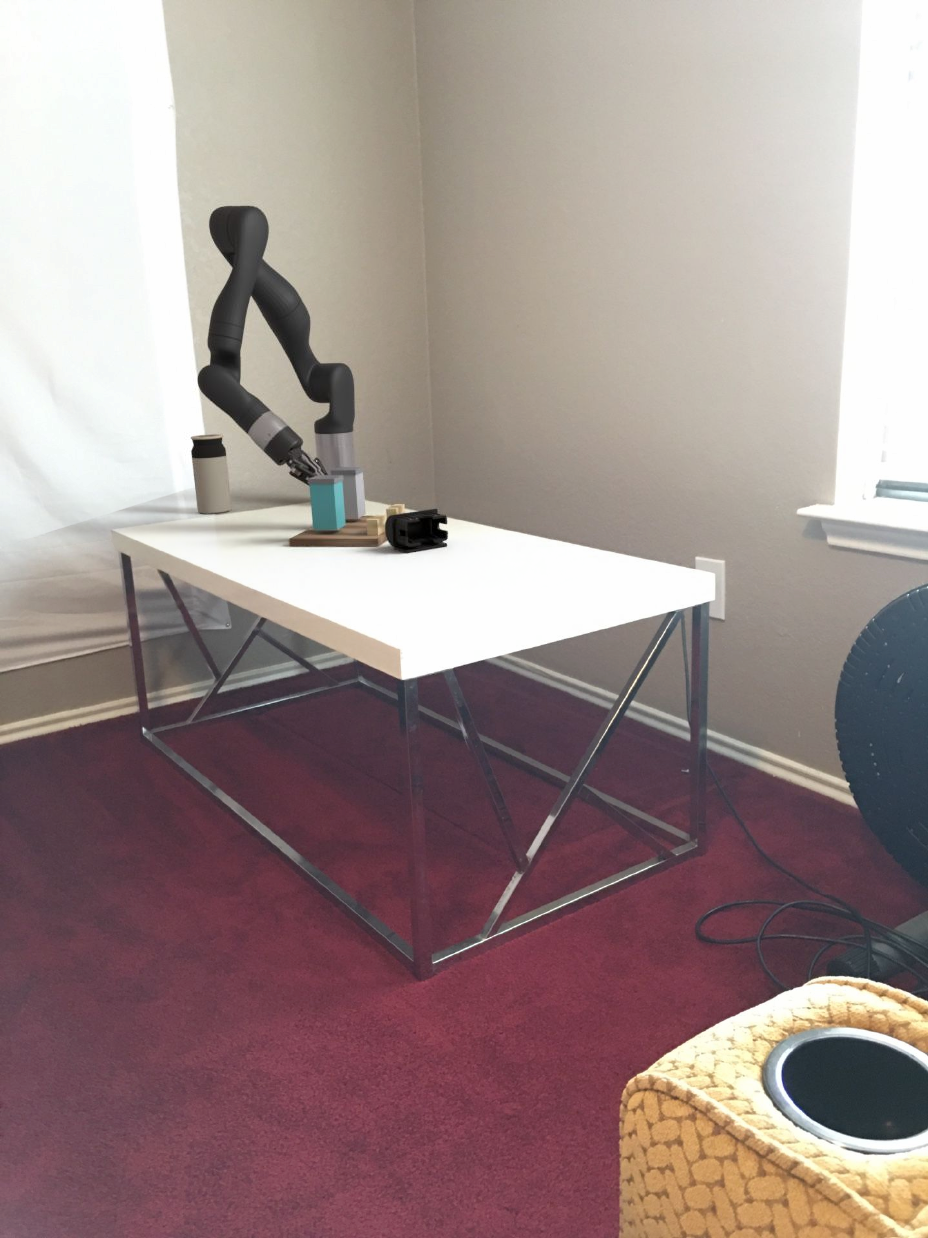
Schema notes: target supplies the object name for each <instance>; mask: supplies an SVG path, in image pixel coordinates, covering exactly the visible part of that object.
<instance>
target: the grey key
mask: <svg viewBox="0 0 928 1238" xmlns="http://www.w3.org/2000/svg"><path fill="white" fill-rule="evenodd" d="M364 472H365V469H364V466H356V467H338V468H336V469H333V470H331V475H343V479H344V480H343V481H342V483H343V497H344V510H345V518H360V517H362V516H366V515H367V511H366V510H367V509H366V498H365V482H364Z"/></svg>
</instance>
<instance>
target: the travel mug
mask: <svg viewBox="0 0 928 1238" xmlns="http://www.w3.org/2000/svg"><path fill="white" fill-rule="evenodd" d="M223 438H224V435H223V434H220V433H219V434H217V433H213V434H202V435H201V434H200V435H192V436H190V439H191V441H192V444H193V445H192V449H191V450H190V453H191V461H192V462H191V463H192V469H193V470H192V471H193V480H194V489H195V498H196V508H197V512H198V513H200V514H203V515H216V514H217V515H218V514H224V513H225V514H226V513H228V512H230V511H231V510H232V507H233V506H232V497H231V489H230V479H229V470H228V457H227V449H226V447H225V446H224V444H223Z"/></svg>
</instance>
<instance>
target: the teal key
mask: <svg viewBox="0 0 928 1238" xmlns="http://www.w3.org/2000/svg"><path fill="white" fill-rule="evenodd" d="M343 480H344V479H343V475H317V476H315V477H312V478H309V479H308V484H309V495H310V508H311V518H312V519H311V521H312V527H313V530H338V529H340V528H341V527H343V526H345V525H346V524H345V510H344V497H343V483H342V481H343Z"/></svg>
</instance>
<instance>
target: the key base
mask: <svg viewBox="0 0 928 1238" xmlns="http://www.w3.org/2000/svg"><path fill="white" fill-rule="evenodd" d="M405 507H406V506H405V503H397V504H396V503H394V504H392V505H390V506H389V507H387V508H385V514H375V515H363V516H362V517H360V518H345V524H346V525H345V526H343V527H341V528H340V529H338V530H313V526H312V527H309V528H308V529H306V530H303V531H301V532H300V533H298V534H296V535H294V536H292V537H290V538H289V539H288V541H289V547H376V548H377V547H380V546H381V545H383V544H384V543H385V542H388V540H387V537H386V533H385V523H386V520H387V518H388V517H389V516H390V515H395V514H402V513H406V511H405V510H406V508H405Z"/></svg>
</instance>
